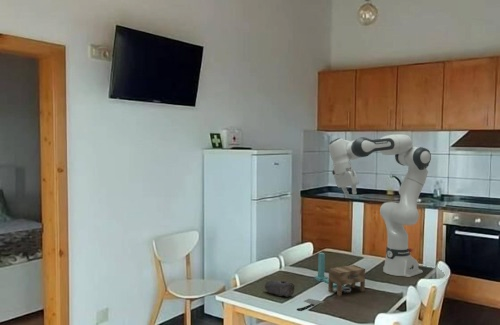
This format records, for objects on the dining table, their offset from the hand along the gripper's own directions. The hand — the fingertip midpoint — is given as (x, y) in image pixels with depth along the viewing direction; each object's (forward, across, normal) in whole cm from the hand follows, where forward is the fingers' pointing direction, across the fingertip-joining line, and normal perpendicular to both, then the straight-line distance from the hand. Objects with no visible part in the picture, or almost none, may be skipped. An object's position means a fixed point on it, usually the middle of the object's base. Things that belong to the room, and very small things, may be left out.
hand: (350, 194), depth 239 cm
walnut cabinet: (+44, -8, +20) cm, 49 cm away
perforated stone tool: (+35, -8, +54) cm, 64 cm away
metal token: (+44, -8, +20) cm, 49 cm away
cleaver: (+40, -18, +41) cm, 60 cm away
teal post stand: (+40, +5, +24) cm, 47 cm away
